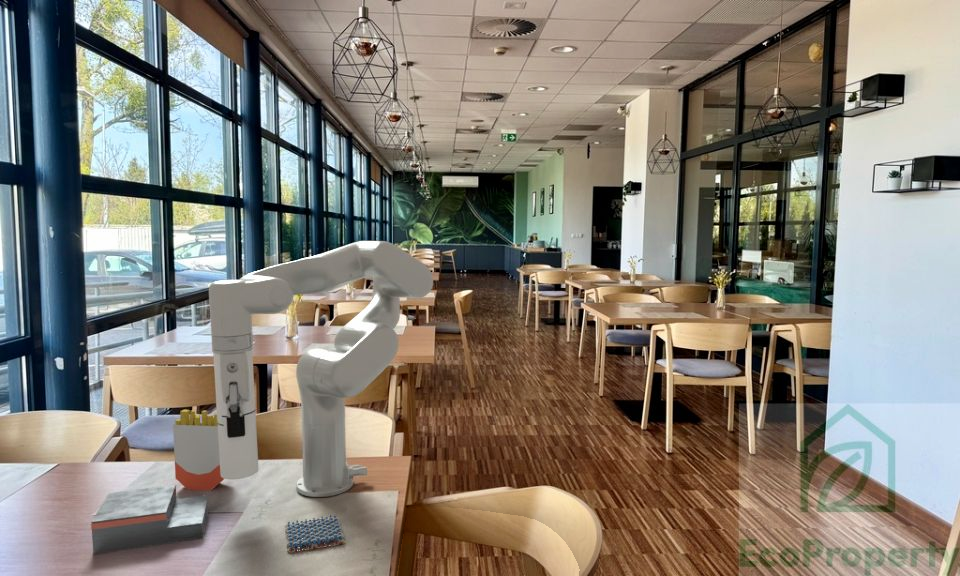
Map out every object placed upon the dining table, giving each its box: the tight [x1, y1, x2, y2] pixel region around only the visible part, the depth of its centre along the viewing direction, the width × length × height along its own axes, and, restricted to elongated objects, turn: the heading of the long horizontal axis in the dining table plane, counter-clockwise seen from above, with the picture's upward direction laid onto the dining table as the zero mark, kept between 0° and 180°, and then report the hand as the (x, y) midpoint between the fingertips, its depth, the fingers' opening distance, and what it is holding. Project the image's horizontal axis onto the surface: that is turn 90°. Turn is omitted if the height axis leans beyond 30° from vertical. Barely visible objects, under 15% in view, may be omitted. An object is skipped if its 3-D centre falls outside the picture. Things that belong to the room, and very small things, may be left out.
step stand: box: [90, 484, 210, 555], centre depth 119 cm, size 18×13×6 cm
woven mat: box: [284, 515, 346, 553], centre depth 117 cm, size 10×11×2 cm
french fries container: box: [172, 409, 225, 491], centre depth 139 cm, size 5×11×18 cm, turn 85°
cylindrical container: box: [212, 349, 259, 480], centre depth 123 cm, size 7×7×25 cm
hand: (237, 429), depth 123 cm, fingers closed on cylindrical container, 7 cm apart
